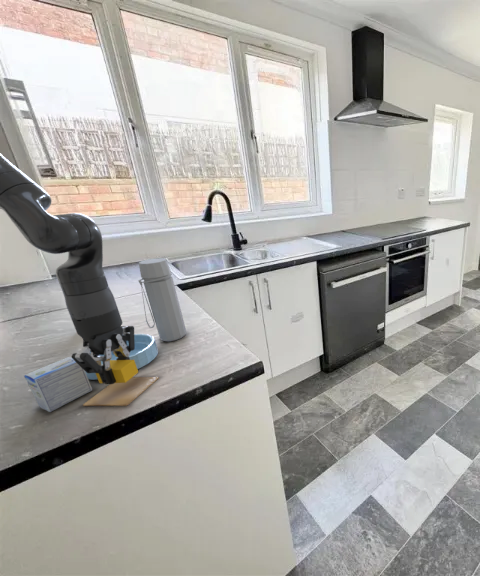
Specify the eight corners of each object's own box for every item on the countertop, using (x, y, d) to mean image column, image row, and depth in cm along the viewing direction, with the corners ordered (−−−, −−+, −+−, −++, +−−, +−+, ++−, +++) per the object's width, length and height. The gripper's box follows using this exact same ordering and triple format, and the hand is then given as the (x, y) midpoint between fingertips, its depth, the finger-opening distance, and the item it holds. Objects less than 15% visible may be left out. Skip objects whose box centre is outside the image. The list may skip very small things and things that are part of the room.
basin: (63, 382, 77) (56, 366, 75) (117, 347, 92) (112, 334, 91) (128, 381, 77) (122, 365, 75) (171, 347, 92) (167, 333, 90)
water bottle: (186, 329, 103) (167, 256, 95) (188, 338, 97) (168, 261, 89) (152, 337, 98) (129, 261, 89) (153, 347, 92) (128, 267, 84)
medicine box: (82, 386, 75) (69, 355, 72) (93, 390, 73) (81, 359, 70) (38, 408, 68) (22, 374, 65) (50, 413, 66) (34, 379, 63)
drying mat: (82, 406, 68) (82, 404, 68) (119, 378, 78) (119, 377, 78) (127, 405, 68) (127, 404, 68) (158, 378, 78) (158, 376, 77)
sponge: (99, 383, 70) (93, 370, 69) (114, 373, 74) (109, 360, 72) (125, 382, 70) (120, 369, 69) (138, 372, 74) (134, 359, 72)
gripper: (105, 297, 73) (127, 360, 78) (42, 324, 59) (73, 397, 65) (136, 297, 73) (156, 360, 78) (80, 324, 59) (109, 397, 65)
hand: (118, 376), depth 72 cm, fingers closed on sponge, 4 cm apart
